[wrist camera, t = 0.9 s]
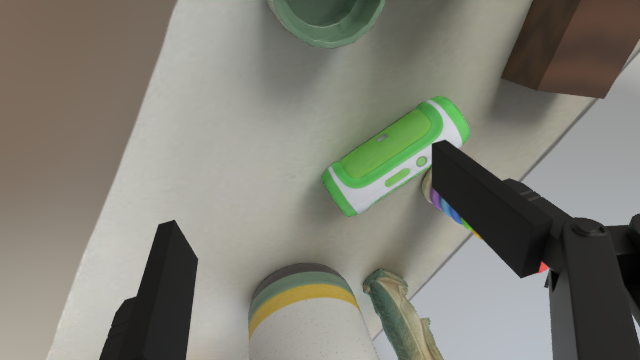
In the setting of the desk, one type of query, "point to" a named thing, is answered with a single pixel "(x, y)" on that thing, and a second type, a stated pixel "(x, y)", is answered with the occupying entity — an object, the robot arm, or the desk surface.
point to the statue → (400, 318)
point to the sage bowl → (327, 19)
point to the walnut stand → (574, 45)
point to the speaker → (394, 155)
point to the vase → (307, 317)
